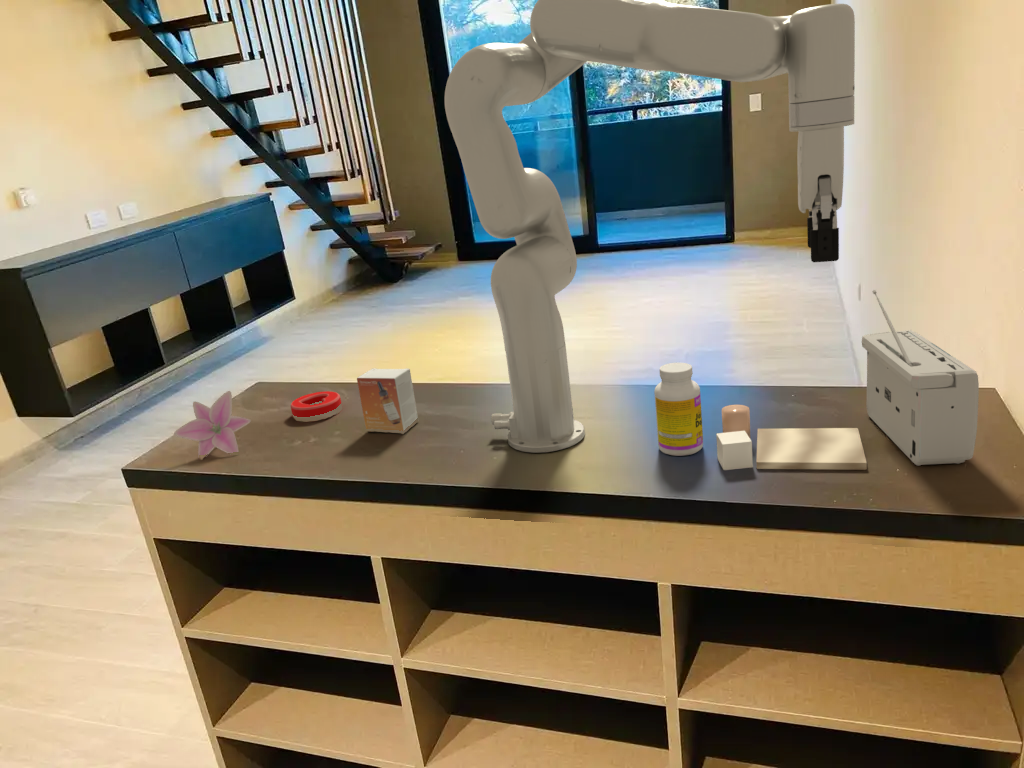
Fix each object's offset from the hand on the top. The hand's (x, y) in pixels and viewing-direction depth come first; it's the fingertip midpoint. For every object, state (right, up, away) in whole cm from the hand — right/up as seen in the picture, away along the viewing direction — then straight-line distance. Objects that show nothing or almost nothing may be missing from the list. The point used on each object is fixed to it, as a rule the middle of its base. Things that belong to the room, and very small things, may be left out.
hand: (822, 253), depth 105 cm
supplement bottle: (-15, -27, +17) cm, 35 cm away
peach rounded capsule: (-6, -25, +17) cm, 31 cm away
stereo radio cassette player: (+17, -25, +10) cm, 32 cm away
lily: (-93, -29, +41) cm, 106 cm away
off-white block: (-9, -28, +10) cm, 31 cm away
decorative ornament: (-78, -23, +55) cm, 98 cm away
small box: (-62, -25, +41) cm, 78 cm away
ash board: (+2, -26, +10) cm, 28 cm away
